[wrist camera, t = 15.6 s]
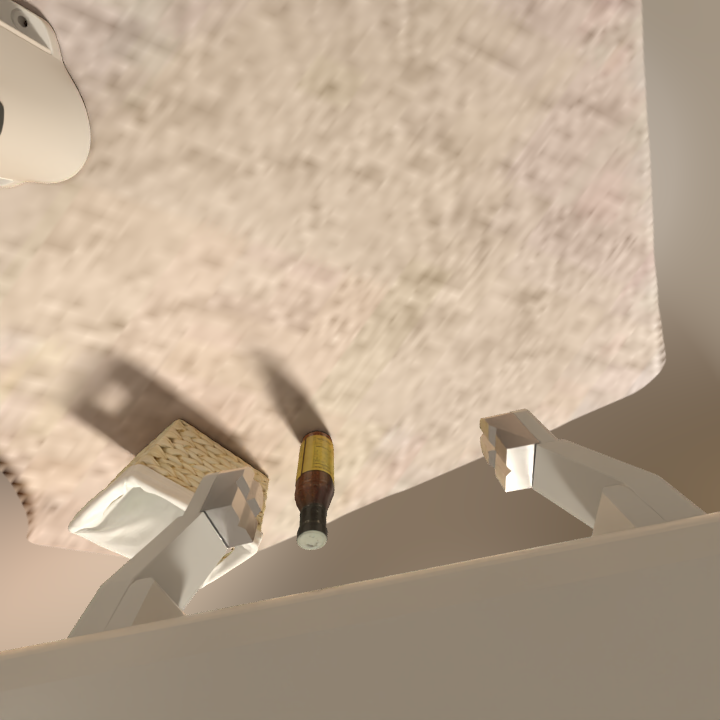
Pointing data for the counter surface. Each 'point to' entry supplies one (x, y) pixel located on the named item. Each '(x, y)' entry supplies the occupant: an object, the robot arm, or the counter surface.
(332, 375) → the counter surface
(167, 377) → the counter surface
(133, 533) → the storage basket
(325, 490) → the sauce bottle
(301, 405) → the counter surface
